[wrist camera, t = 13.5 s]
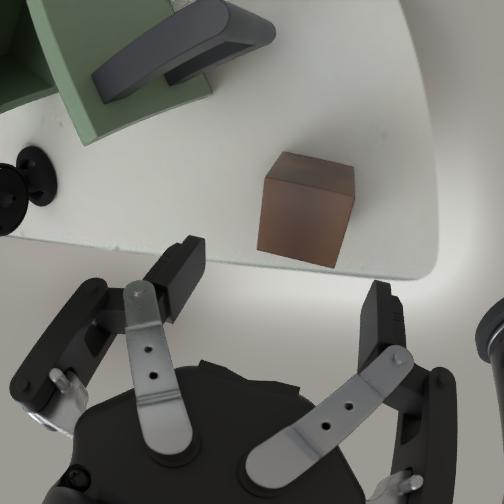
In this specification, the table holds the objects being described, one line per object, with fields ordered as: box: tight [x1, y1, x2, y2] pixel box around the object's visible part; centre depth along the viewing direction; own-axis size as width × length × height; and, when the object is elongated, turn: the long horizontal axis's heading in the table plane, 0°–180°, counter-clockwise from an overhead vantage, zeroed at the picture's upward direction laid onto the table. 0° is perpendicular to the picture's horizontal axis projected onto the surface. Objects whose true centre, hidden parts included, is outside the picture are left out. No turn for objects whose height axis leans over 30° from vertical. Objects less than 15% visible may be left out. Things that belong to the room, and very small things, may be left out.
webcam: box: [0, 146, 56, 237], centre depth 25 cm, size 8×8×10 cm
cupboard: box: [0, 0, 59, 114], centre depth 12 cm, size 11×16×12 cm
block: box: [257, 152, 355, 269], centre depth 20 cm, size 5×5×5 cm
